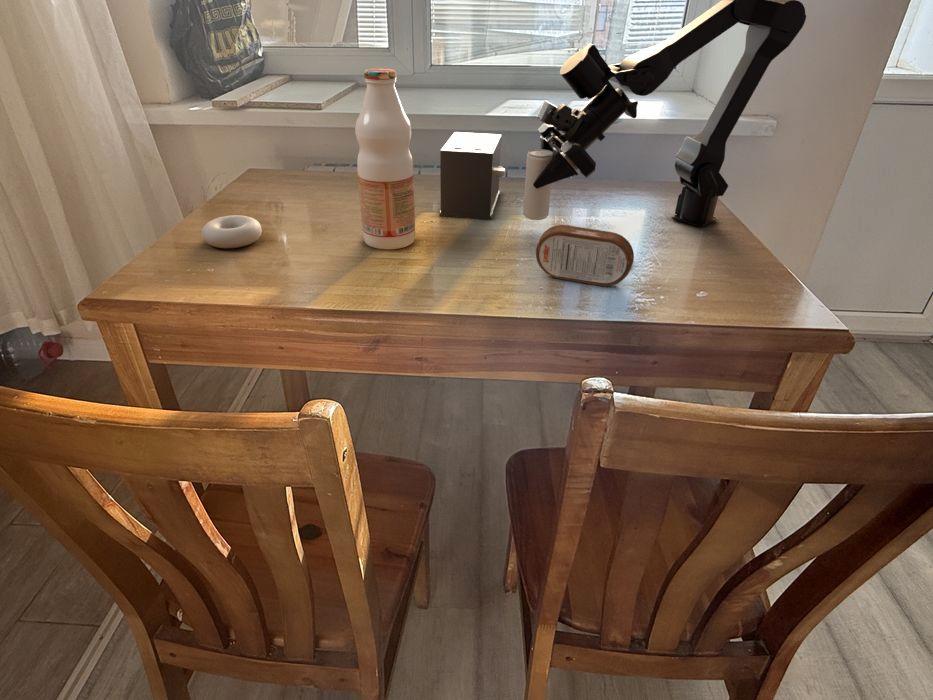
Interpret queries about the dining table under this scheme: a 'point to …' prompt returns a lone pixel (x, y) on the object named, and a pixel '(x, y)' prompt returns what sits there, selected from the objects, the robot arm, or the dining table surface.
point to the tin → (584, 255)
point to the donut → (231, 231)
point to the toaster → (470, 175)
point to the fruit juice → (385, 165)
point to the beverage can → (534, 198)
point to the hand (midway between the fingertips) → (531, 182)
